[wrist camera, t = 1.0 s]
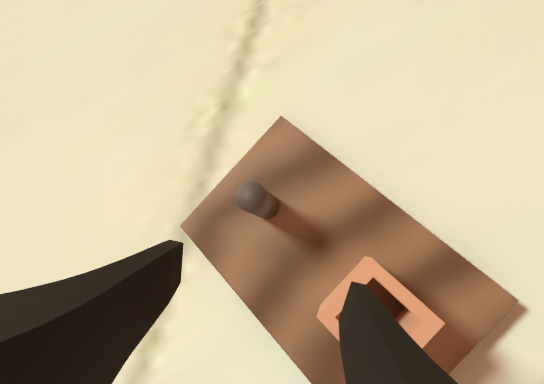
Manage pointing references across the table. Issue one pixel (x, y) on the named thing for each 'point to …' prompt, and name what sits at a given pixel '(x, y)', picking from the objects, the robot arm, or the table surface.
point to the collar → (414, 316)
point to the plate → (331, 252)
